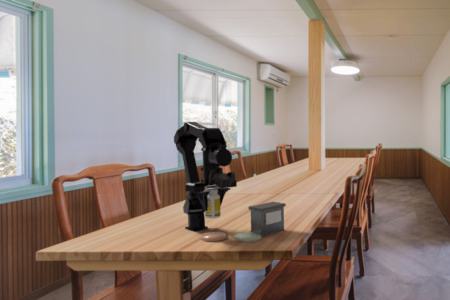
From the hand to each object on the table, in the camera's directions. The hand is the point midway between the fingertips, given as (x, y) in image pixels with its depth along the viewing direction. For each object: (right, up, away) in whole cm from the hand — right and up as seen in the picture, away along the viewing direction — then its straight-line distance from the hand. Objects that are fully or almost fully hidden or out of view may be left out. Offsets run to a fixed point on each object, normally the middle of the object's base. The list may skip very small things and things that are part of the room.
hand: (212, 209), depth 128 cm
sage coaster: (+12, -10, -1) cm, 16 cm away
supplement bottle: (0, -3, 0) cm, 3 cm away
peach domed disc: (0, -10, 0) cm, 10 cm away
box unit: (+20, -9, +5) cm, 22 cm away
